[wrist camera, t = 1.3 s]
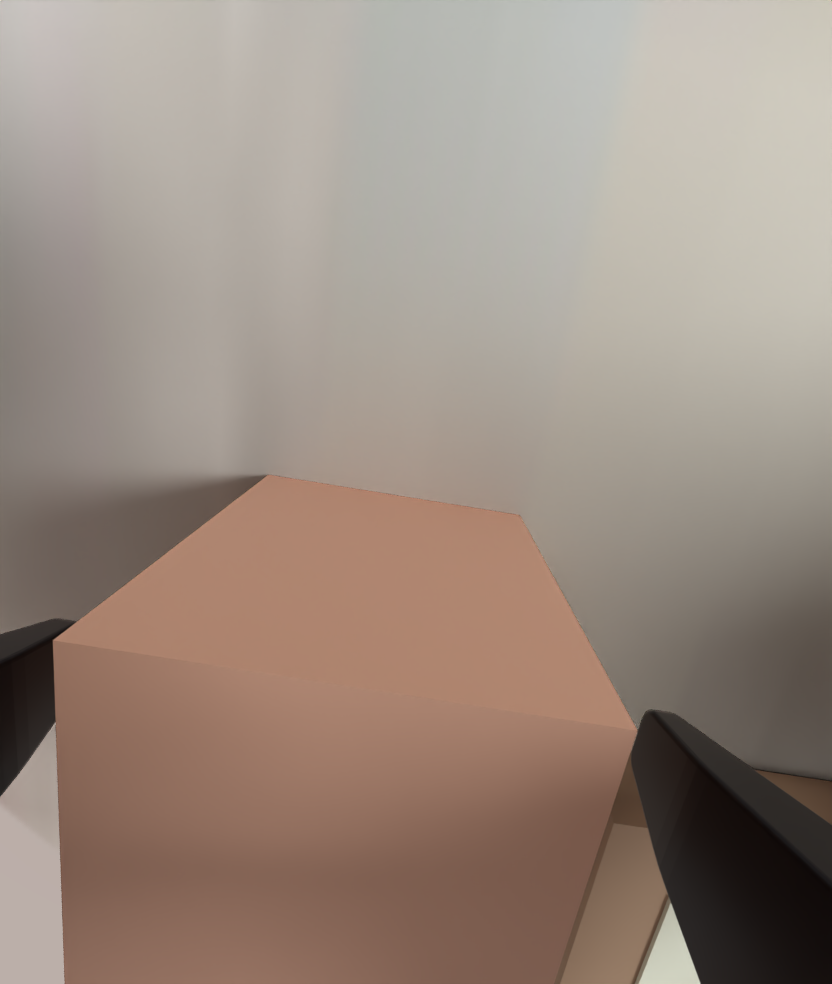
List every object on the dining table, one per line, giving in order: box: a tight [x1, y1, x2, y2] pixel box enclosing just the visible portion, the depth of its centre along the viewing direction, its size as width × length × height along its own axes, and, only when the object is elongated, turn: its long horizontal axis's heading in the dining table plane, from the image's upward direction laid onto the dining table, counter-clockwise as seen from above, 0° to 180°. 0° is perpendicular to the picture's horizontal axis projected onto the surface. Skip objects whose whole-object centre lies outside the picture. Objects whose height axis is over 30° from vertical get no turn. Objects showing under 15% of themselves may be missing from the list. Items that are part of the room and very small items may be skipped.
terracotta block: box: [53, 475, 638, 984], centre depth 8 cm, size 5×5×6 cm
